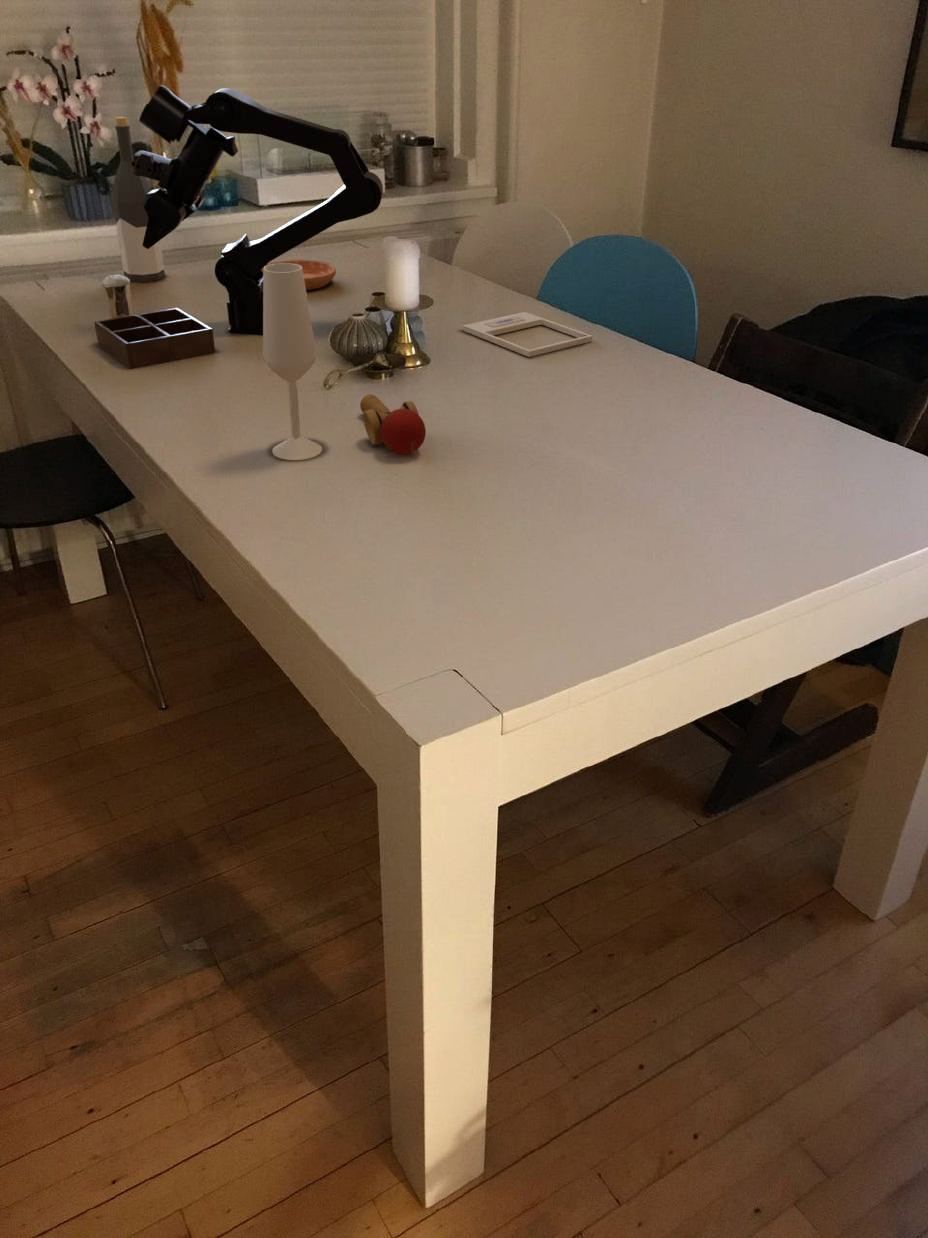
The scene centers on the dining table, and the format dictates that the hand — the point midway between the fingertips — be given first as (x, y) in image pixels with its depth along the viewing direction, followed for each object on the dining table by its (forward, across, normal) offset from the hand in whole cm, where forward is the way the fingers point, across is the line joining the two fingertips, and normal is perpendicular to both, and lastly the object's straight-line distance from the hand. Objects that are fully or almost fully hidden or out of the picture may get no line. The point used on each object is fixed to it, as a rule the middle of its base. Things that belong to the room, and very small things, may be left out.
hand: (152, 240), depth 177 cm
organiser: (+11, +12, +10) cm, 19 cm away
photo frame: (-26, +2, +61) cm, 66 cm away
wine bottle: (+20, -33, -2) cm, 39 cm away
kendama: (-14, +48, +44) cm, 67 cm away
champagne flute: (-7, +54, +35) cm, 64 cm away
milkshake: (+16, +1, +3) cm, 17 cm away
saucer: (+1, -31, +24) cm, 39 cm away
